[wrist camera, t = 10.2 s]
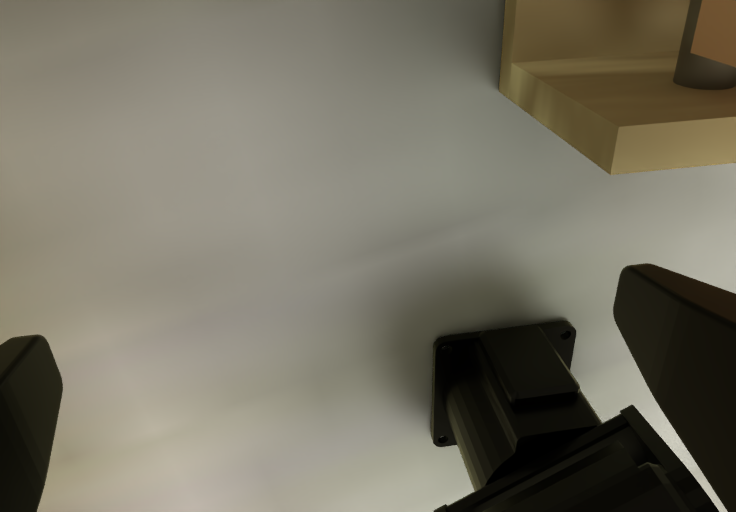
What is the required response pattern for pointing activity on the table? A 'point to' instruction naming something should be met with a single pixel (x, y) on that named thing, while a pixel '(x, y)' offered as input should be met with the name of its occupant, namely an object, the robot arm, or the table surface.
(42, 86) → the table surface
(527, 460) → the robot arm
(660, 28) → the shelf frame
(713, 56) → the tan rectangular block
